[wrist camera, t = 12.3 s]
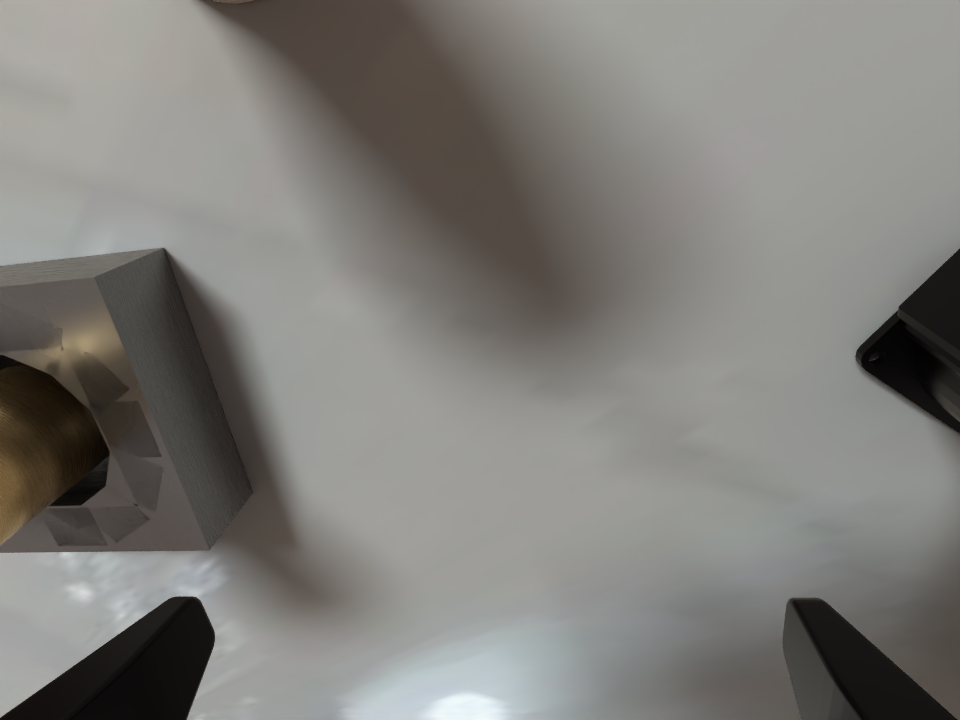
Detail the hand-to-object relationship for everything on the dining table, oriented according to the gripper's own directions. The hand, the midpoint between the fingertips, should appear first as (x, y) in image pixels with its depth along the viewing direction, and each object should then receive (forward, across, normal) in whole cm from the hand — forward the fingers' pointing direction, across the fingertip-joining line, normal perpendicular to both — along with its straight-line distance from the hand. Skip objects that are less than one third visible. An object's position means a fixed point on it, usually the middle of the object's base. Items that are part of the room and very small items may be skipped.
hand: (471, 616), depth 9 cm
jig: (+13, +18, +2) cm, 23 cm away
